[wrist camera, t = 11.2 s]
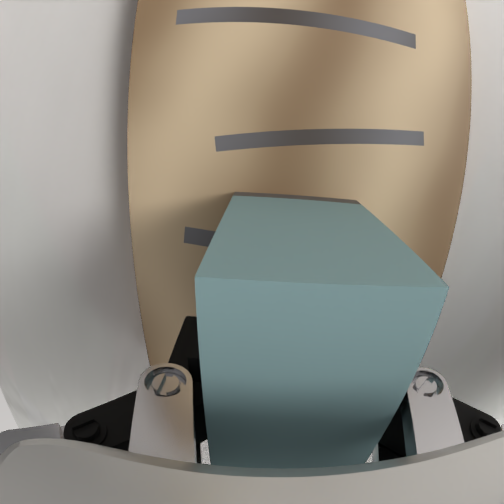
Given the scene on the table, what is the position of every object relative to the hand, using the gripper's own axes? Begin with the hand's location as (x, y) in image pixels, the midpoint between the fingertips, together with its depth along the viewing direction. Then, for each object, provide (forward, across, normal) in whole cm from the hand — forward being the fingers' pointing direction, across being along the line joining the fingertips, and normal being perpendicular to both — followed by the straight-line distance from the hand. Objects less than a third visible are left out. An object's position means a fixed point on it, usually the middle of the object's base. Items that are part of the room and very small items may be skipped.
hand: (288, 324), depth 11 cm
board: (+2, 0, -5) cm, 6 cm away
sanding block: (+1, 0, -1) cm, 1 cm away
